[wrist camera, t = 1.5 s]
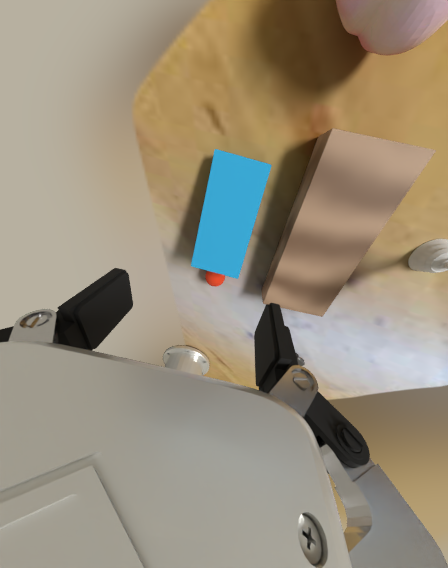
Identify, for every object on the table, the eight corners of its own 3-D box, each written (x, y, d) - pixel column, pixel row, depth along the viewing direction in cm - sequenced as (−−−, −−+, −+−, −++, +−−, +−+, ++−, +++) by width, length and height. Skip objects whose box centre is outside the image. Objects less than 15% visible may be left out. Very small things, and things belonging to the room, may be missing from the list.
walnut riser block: (314, 301, 31) (322, 316, 28) (261, 290, 31) (263, 303, 28) (403, 154, 19) (436, 150, 16) (318, 136, 20) (332, 128, 16)
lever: (219, 170, 27) (196, 278, 32) (214, 148, 20) (186, 290, 25) (262, 182, 27) (231, 287, 32) (271, 164, 20) (231, 302, 25)
